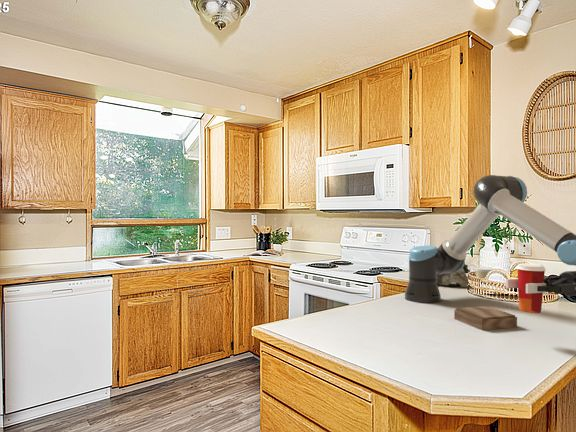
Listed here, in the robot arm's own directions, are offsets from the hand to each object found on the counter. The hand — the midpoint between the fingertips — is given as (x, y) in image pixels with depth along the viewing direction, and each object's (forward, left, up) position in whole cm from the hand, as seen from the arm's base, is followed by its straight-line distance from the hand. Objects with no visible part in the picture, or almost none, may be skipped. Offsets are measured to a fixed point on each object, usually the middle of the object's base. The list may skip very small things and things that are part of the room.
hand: (516, 286), depth 118 cm
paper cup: (+4, +3, -8) cm, 9 cm away
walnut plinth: (-5, +21, -17) cm, 27 cm away
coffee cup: (+6, +76, -17) cm, 78 cm away
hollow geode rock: (-12, +93, -17) cm, 95 cm away
